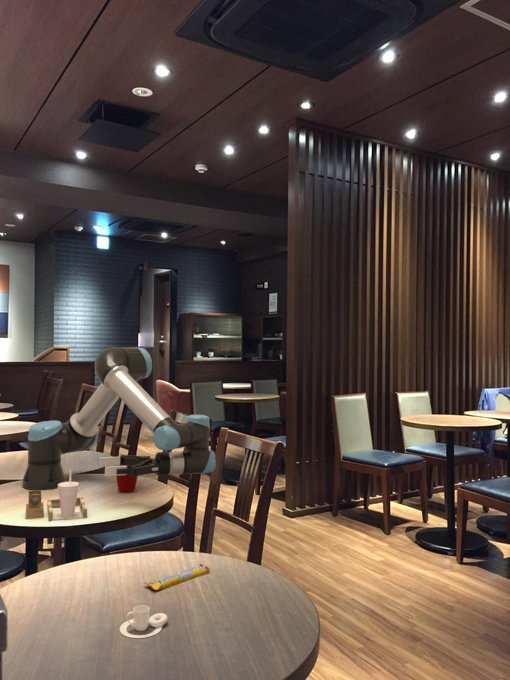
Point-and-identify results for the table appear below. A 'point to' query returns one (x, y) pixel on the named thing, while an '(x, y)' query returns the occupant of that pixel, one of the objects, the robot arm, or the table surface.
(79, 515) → the mat
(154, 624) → the teacup and saucer
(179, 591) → the table surface
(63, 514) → the smoothie
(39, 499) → the winch
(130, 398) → the robot arm
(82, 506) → the bay
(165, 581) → the candy bar
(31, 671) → the table surface
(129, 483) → the plastic cup
